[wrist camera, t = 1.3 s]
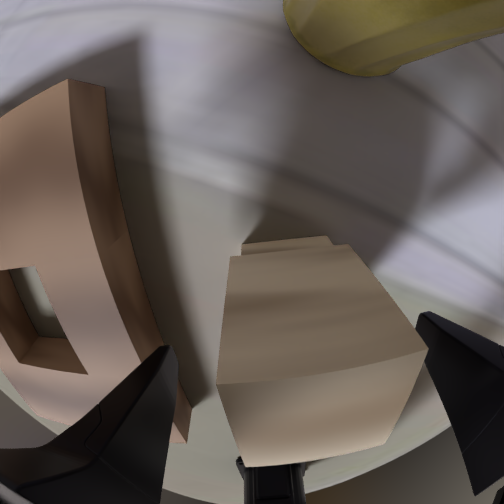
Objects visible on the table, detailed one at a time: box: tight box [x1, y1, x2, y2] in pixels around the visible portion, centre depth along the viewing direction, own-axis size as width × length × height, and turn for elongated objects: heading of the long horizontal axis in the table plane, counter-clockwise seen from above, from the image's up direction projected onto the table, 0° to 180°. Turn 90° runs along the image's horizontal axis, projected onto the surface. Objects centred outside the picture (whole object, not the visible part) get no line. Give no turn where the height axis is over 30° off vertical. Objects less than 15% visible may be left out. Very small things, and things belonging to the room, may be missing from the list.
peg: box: [216, 235, 429, 467], centre depth 9 cm, size 4×4×8 cm
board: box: [0, 79, 192, 444], centre depth 12 cm, size 20×14×3 cm
